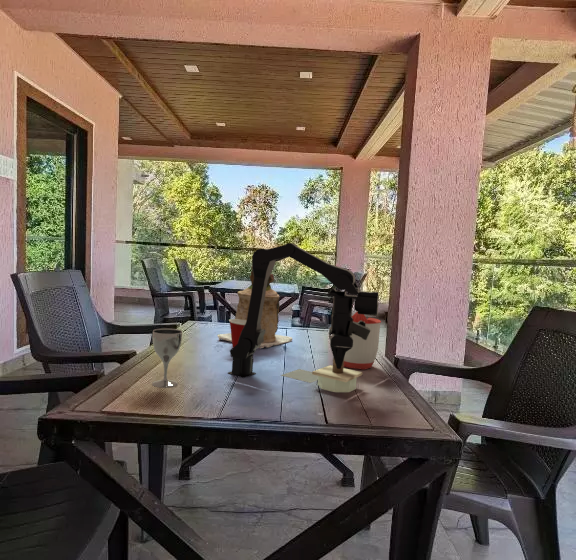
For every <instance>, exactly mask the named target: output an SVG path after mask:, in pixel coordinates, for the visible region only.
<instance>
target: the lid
mask: <svg viewBox="0 0 576 560" xmlns="http://www.w3.org/2000/svg"><path fill="white" fill-rule="evenodd" d="M311 372H312V374H313V375H317V376H321V377H325V378H330V379H334V380H338V381H342V382H348V381H350V380H352V379H354V378H356V379H357V378H359V377H361V376H363V372H362V371H358V370H355V369H351V368H350V369H348V368H346V367H344V360H343V363H342V366H341V369H337V367H336V364H335V360H334V357H333V359H332V365H327V366H324V367H321V368H319V369H316V370H313V371H311Z"/></svg>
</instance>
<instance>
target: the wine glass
mask: <svg viewBox="0 0 576 560" xmlns="http://www.w3.org/2000/svg"><path fill="white" fill-rule="evenodd" d="M182 338H183V330H182V329H178V328H156V329H153V330H152V346H153V349H154V350H153V351H154V352H155V353H156V355H157V356H158V358H160V360H161V362H162V364H163V379H158V380H154V381H153V382H152V383H151V385H152V386H153V387H155V388H163V389H164V388H173V387H176V386H178V385H179V383H178V382H177V381H176V380H171V379H168V368H169V364H170V362H171V360H172V359H173V358H174V357H175V356H176V355H178V352H180V348H181V345H182V340H183V339H182Z"/></svg>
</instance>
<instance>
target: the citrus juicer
mask: <svg viewBox="0 0 576 560" xmlns="http://www.w3.org/2000/svg"><path fill="white" fill-rule="evenodd" d="M352 318H353V321H354V322H357V323H358V322H359V321H360V320H361V321H363V322H365V326H366V327H368V328H369V329H370V330H371V331H370V333H369V335H368V337H367V340H364V339H362V338H361V337H359V336H357V335H355V334H353V333H352V336H351V335H350V336H351V337H352V339H353V347H352V348H351V349H350V350H348V351H347V352H346V354H345V357H344V368H347V369H348V368H350V369H353V370H355V369H356V370H363V371H365V370H367V369H368V370H369V369H371V368H372V367H373V365H374V363H375V360H376V358H377V354H378V350H379V343H380V330H381V323H382V321H381V320H380V319H378V318H374V317H368V318H367V317H366V315H364V314H358V311H355V313H354V314H353V315H352Z"/></svg>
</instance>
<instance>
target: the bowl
mask: <svg viewBox="0 0 576 560" xmlns="http://www.w3.org/2000/svg"><path fill="white" fill-rule="evenodd" d="M317 386H318V387H319V388H320V389H322V390H324V391H328V392H332V393H351V392H352V391H354V390H356V388H357V378H354V379H352V380H350V381H348V382H342V381H338V380H334V379H330V378H325V377H321V376H318V380H317Z"/></svg>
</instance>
